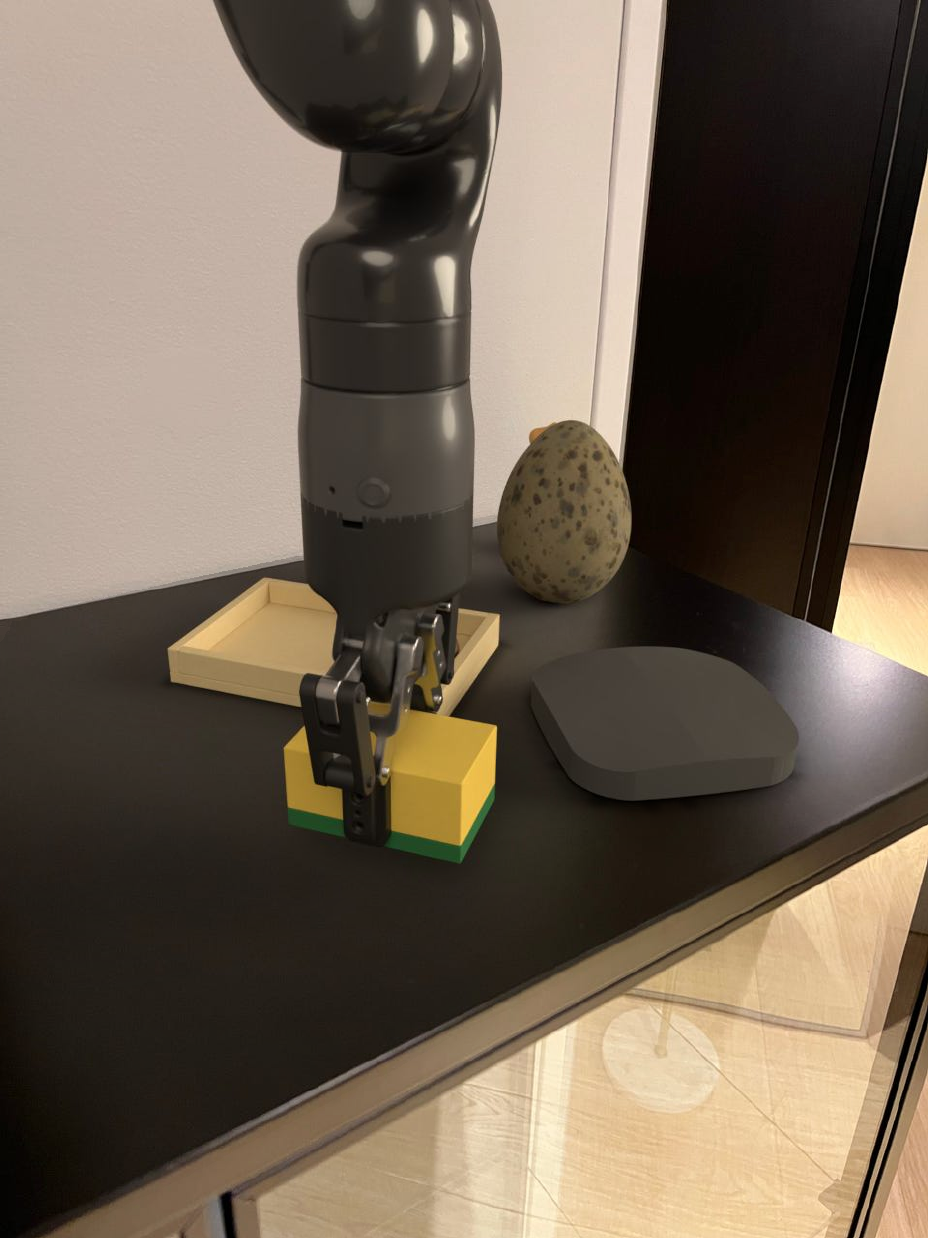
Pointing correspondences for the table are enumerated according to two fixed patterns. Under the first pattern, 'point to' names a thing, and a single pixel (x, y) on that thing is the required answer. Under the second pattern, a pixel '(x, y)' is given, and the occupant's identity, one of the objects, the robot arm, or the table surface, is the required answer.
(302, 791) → the sponge
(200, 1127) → the table surface
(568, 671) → the media streaming box
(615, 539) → the decorative egg
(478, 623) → the tray
